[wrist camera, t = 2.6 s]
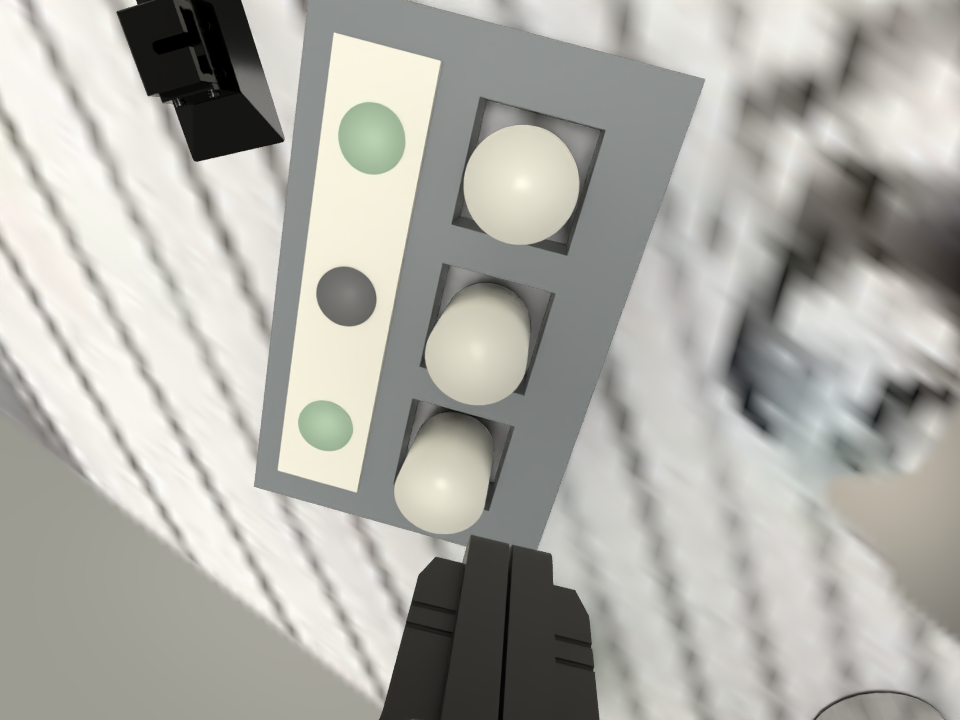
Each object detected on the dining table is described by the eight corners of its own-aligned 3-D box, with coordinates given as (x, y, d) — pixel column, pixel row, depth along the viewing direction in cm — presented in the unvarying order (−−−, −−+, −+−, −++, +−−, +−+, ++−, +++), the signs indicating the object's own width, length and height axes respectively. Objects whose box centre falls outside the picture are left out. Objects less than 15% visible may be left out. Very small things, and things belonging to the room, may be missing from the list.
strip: (442, 61, 27) (439, 60, 26) (358, 488, 36) (355, 494, 35) (336, 33, 27) (332, 31, 26) (280, 466, 36) (276, 472, 35)
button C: (588, 140, 28) (594, 142, 23) (558, 237, 30) (559, 257, 25) (491, 114, 28) (478, 111, 23) (468, 213, 30) (452, 228, 25)
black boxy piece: (309, 164, 32) (272, 169, 28) (193, 191, 34) (142, 200, 30) (230, -100, 28) (173, -141, 24) (102, -57, 30) (27, -89, 25)
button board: (690, 84, 28) (705, 79, 26) (533, 533, 39) (531, 564, 36) (334, -10, 29) (310, -25, 26) (275, 461, 39) (254, 486, 37)
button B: (541, 296, 31) (539, 325, 26) (517, 376, 33) (511, 416, 28) (454, 272, 31) (436, 297, 26) (435, 353, 33) (416, 390, 28)
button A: (503, 424, 34) (495, 470, 29) (483, 491, 36) (473, 544, 31) (424, 402, 34) (403, 445, 30) (408, 470, 36) (386, 520, 31)
